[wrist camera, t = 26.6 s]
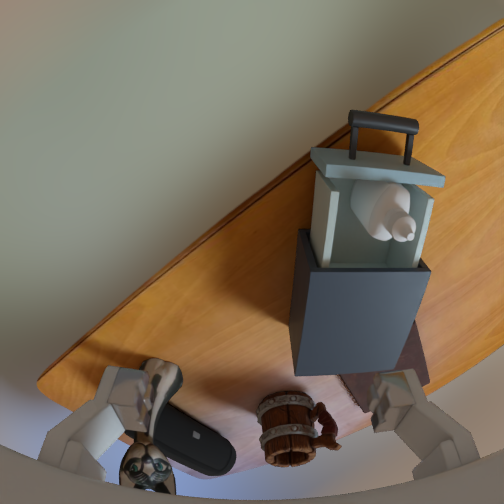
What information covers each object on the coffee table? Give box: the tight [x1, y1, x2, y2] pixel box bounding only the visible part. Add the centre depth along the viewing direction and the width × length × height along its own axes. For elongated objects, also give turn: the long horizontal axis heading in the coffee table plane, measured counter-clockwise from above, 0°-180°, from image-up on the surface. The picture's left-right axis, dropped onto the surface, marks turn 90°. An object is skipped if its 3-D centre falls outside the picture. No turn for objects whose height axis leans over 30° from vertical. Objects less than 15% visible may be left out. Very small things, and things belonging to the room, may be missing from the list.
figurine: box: [119, 358, 183, 495], centre depth 41 cm, size 9×7×25 cm
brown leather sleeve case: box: [339, 320, 430, 413], centre depth 51 cm, size 15×20×2 cm
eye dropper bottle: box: [350, 179, 416, 242], centre depth 29 cm, size 4×6×12 cm
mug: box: [256, 391, 341, 467], centre depth 51 cm, size 12×14×15 cm
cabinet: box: [289, 229, 431, 376], centre depth 39 cm, size 16×14×10 cm
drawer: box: [309, 110, 445, 268], centre depth 32 cm, size 19×12×8 cm, turn 179°
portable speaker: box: [125, 403, 236, 476], centre depth 55 cm, size 26×10×10 cm, turn 38°
